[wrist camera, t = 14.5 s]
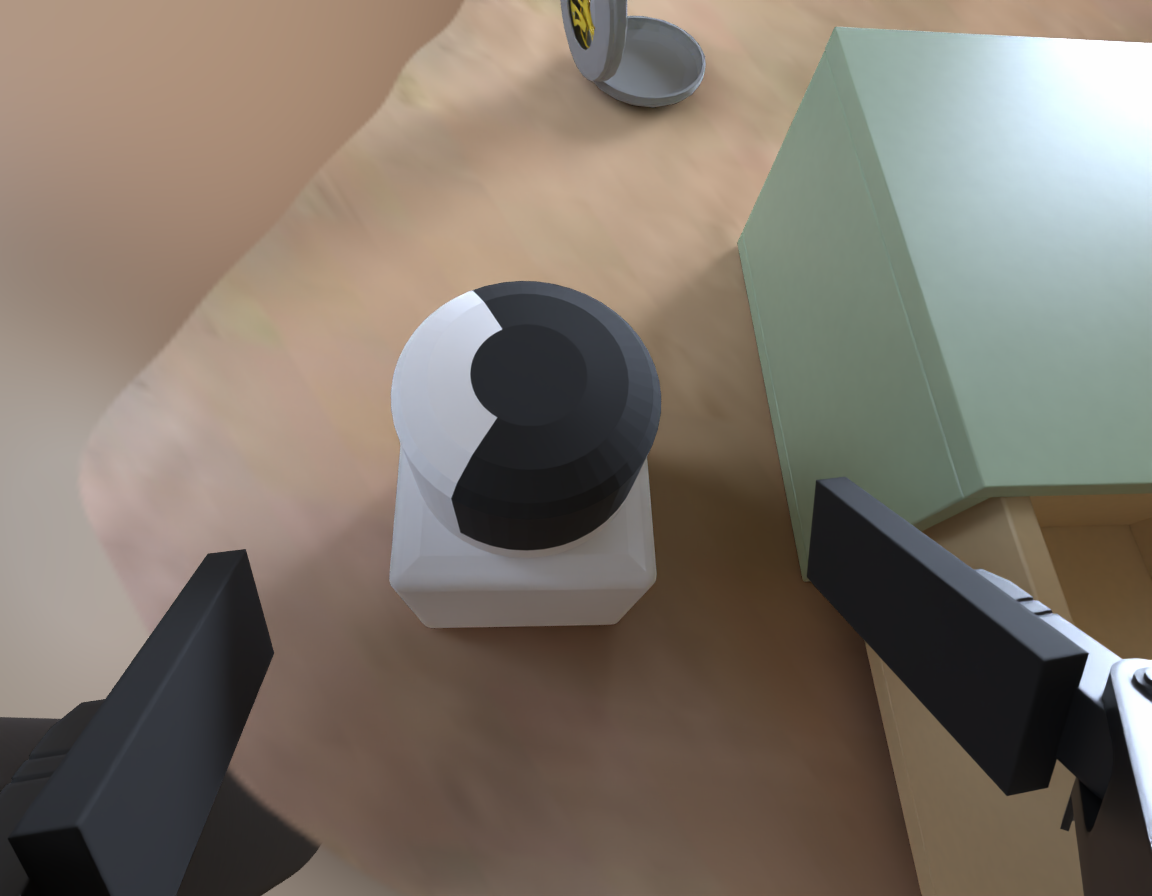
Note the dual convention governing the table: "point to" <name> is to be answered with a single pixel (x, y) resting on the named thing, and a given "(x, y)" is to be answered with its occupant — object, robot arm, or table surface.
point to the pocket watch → (632, 53)
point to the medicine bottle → (523, 461)
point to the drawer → (937, 761)
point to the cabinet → (959, 273)
